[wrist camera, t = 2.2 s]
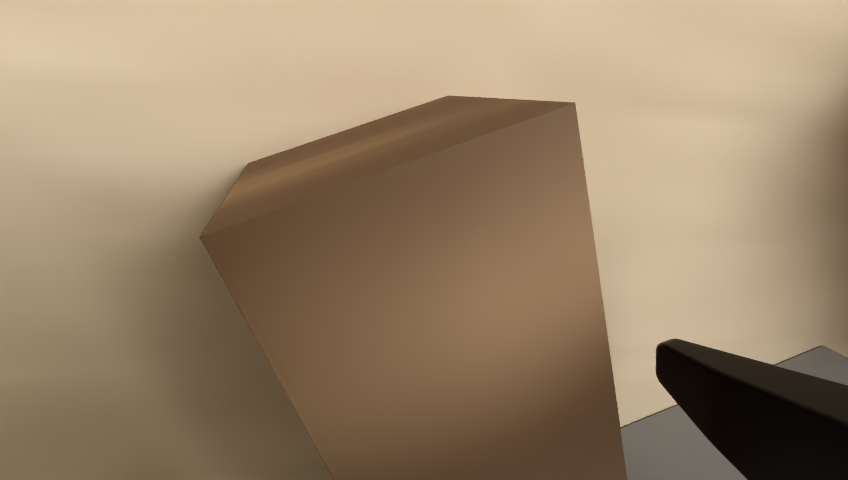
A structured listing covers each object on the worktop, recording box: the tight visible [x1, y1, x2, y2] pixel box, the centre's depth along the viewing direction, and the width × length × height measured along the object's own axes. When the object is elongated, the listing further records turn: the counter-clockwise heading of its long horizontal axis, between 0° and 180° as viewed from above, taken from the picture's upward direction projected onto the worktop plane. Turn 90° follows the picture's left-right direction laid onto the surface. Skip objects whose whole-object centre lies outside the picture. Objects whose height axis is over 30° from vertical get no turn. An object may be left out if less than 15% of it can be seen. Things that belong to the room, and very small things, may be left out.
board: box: [200, 96, 627, 480], centre depth 10 cm, size 12×5×6 cm, turn 17°
